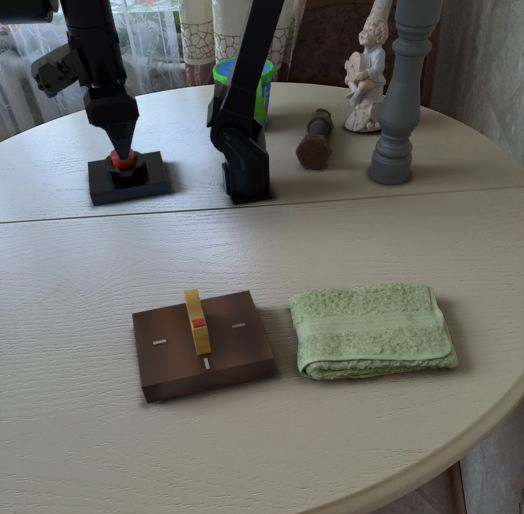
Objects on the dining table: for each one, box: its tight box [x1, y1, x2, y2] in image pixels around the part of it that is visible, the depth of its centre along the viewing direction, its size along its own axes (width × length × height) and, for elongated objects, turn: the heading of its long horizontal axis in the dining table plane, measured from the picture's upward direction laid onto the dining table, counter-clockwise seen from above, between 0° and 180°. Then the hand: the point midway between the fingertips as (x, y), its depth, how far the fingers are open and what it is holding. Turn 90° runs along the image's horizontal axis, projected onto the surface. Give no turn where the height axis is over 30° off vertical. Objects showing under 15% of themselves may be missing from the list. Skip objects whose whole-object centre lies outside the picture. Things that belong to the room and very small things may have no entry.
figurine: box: [344, 0, 394, 133], centre depth 85 cm, size 9×8×20 cm
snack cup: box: [212, 56, 275, 127], centre depth 90 cm, size 16×10×10 cm
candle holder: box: [369, 0, 444, 186], centre depth 72 cm, size 6×6×25 cm
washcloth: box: [288, 282, 459, 381], centre depth 57 cm, size 13×18×3 cm
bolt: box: [295, 108, 335, 170], centre depth 86 cm, size 6×5×15 cm
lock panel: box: [131, 289, 275, 404], centre depth 56 cm, size 14×11×3 cm
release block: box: [87, 150, 171, 207], centre depth 80 cm, size 12×10×4 cm
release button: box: [109, 148, 136, 168], centre depth 78 cm, size 4×4×2 cm
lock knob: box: [183, 288, 211, 355], centre depth 53 cm, size 6×2×4 cm, turn 15°
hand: (120, 144), depth 73 cm, fingers open, 9 cm apart
